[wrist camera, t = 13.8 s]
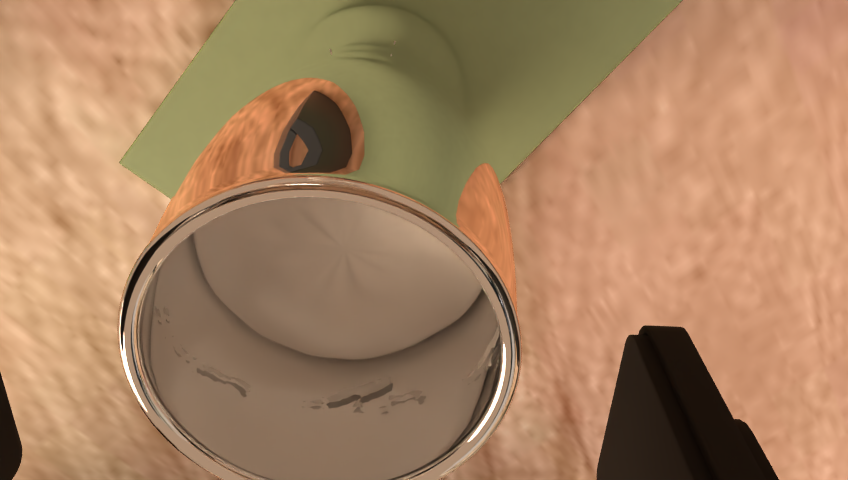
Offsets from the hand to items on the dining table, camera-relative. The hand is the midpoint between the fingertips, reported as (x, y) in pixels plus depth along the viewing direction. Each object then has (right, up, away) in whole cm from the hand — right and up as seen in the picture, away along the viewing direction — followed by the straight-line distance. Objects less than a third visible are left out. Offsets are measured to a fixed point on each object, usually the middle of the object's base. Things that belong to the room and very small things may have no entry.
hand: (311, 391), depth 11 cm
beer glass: (0, +7, +14) cm, 16 cm away
